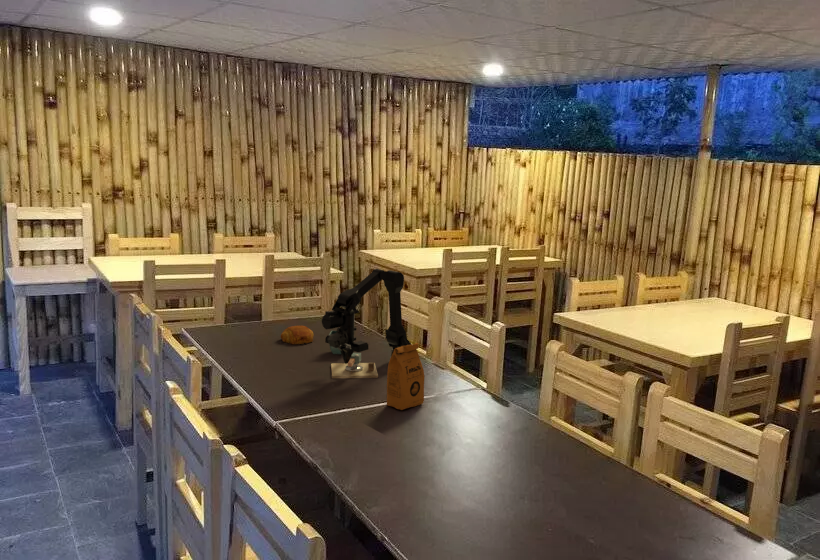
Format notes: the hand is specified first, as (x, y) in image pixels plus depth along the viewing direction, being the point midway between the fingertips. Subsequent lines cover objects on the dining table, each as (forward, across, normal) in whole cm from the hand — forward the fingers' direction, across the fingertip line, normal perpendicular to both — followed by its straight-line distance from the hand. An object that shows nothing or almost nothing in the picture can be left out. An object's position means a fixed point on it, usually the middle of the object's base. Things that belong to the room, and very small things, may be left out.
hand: (346, 363), depth 260 cm
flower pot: (+6, -24, +20) cm, 32 cm away
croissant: (+6, -52, +20) cm, 56 cm away
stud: (+5, -1, +6) cm, 8 cm away
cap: (+1, 0, +3) cm, 3 cm away
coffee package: (+5, +37, -8) cm, 39 cm away
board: (+5, -1, +6) cm, 8 cm away
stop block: (+5, +4, +10) cm, 12 cm away
